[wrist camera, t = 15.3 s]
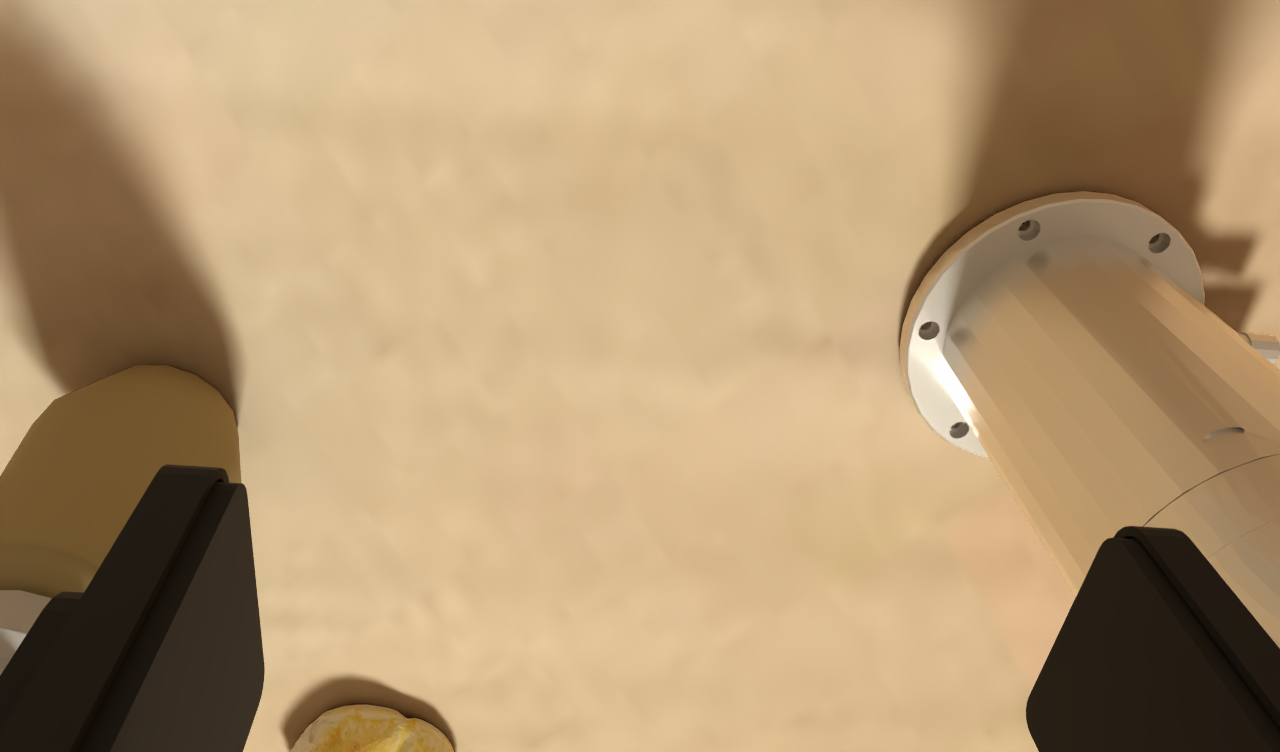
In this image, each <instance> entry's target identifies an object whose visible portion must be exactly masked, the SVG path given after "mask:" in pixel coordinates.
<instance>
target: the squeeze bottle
mask: <svg viewBox="0 0 1280 752" xmlns="http://www.w3.org/2000/svg"><path fill="white" fill-rule="evenodd" d="M166 464H170V465H185V466H201V467H217V468H223V469H225V470H226V472H227V475H228V478H229V483H241V470H240V454H239V438H238V430H237V426H236V421H235V417H234V412H233V410H232V409H231V408H230V406H229V405H228V403H227V402H226V401H225V399H224V398H223V397H222V395H221V394H220V392H219V391H218V390H217V389H215V388H214V387H212V386H211V385H210V384H208V383H207V382H205V381H204V380H202V379H201V378H199V377H198V376H197V375H195V374H193V373H190V372H187V371H183V370H180V369H177V368H174V367H171V366H168V365H136V366H133V367H131V368H128V369H125V370H123V371H120V372H118V373H115V374H113V375H110V376H108V377H106V378H103V379H101V380H99V381H96V382H94V383H92V384H90V385H87V386H85V387H83V388H80V389H78V390H76V391H74V392H71V393H69V394H67V395H64V396H62V397H60V398H58V399H55V400H54V401H53V402H52V403H51V404H50V405H49V406H48V408H47V409H46V410H45V411H44V412H43V413H42V414H41V415H40V417H39V418H38V419H37V420H36V421H35V422H34V423H33V424H32V426H31V428H30V429H29V431H28V432H27V434H26V436H25V437H24V439H23V440H22V442H21V444H20V445H19V447H18V449H17V450H16V452H15V453H14V455H13V457H12V458H11V460H10V461H9V463H8V465H7V466H6V468H5V470H4V471H3V473H2V474H1V476H0V675H1V674H2V672H3V670H4V669H5V667H6V666H7V664H8V663H9V661H10V660H11V658H12V657H13V655H14V653H15V652H16V650H17V649H18V647H19V646H20V644H21V643H22V641H23V639H24V638H25V636H26V635H27V633H28V632H29V630H30V629H31V627H32V625H33V624H34V622H35V621H36V619H37V618H38V616H39V615H40V613H41V612H42V610H43V609H44V608H45V606H46V605H47V604H48V603H49V601H50V600H51V599H52V598H53V597H54V596H56V595H58V594H59V593H61V592H63V591H64V592H85V590H86V588H87V587H88V585H89V584H90V582H91V580H92V579H93V577H94V575H95V574H96V572H97V570H98V569H99V567H100V565H101V564H102V562H103V560H104V559H105V557H106V556H107V554H108V552H109V551H110V549H111V547H112V546H113V544H114V542H115V541H116V539H117V537H118V536H119V534H120V532H121V531H122V529H123V527H124V526H125V524H126V523H127V521H128V519H129V518H130V516H131V514H132V513H133V511H134V509H135V508H136V506H137V504H138V503H139V501H140V499H141V498H142V496H143V495H144V493H145V491H146V490H147V488H148V486H149V485H150V483H151V481H152V480H153V478H154V476H155V475H156V473H157V472H158V471H159V469H160V468H161V467H162V466H164V465H166Z"/></svg>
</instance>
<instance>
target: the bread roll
mask: <svg viewBox="0 0 1280 752" xmlns="http://www.w3.org/2000/svg"><path fill="white" fill-rule="evenodd" d="M290 752H454V750H453V747H452V745H451V743H450V742H449V740H448V739H447V738H446V736H445V735H444V734H443V733H442V732H441V731H440V730H438V729H437V728H436V727H434V726H433V725H431V724H429V723H427V722H425V721H423V720H421V719H417V718H410V719H408V718H405V717H404V716H403V715H402V714H400V713H399V712H398V711H396V710H394V709H391V708H387V707H381V706H374V705H366V704H363V705H349V706H342V707H339V708H335V709H332V710H329V711H326V712H324V713H323V714H322V715H321V716H320V717H318V718H317V719H316V720H315V721H314V722H313V723H311V724H310V725H309V726H308V727H307V728H306V729H305V731H304V732H303V733H302V734H301V735H300V738H299V739H298V740H297V741H296V743H295V745H294V746H293V748H292V749H291V750H290Z"/></svg>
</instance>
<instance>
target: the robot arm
mask: <svg viewBox="0 0 1280 752" xmlns="http://www.w3.org/2000/svg"><path fill="white" fill-rule="evenodd" d="M1024 222H1025V223H1024ZM1022 223H1024V225H1022V226H1021V224H1022ZM1204 300H1205V294H1204V286H1203V278H1202V272H1201V269H1200V267H1199V264H1198V262H1197V259H1196V257H1195V254H1194V251H1193V250H1192V248H1191V247H1190V246H1189V244H1188V243H1187V242H1186V240H1185V239H1184V238H1183V236H1182V235H1181V234H1180V232H1179V231H1178V230H1177V229H1175V228H1174V227H1173V226H1172V225H1170V224H1169V223H1168V222H1167V221H1166V220H1164V219H1163V218H1162V217H1161V216H1159V215H1158V214H1156V213H1155V212H1153V211H1151V210H1150V209H1148V208H1146V207H1145V206H1143V205H1141V204H1140V203H1138V202H1135V201H1132V200H1129V199H1126V198H1123V197H1120V196H1117V195H1114V194H1106V193H1097V192H1087V191H1080V192H1068V193H1056V194H1051V195H1047V196H1043V197H1039V198H1036V199H1032V200H1028V201H1024V202H1022V203H1019V204H1017V205H1015V206H1013V207H1010V208H1008V209H1006V210H1004V211H1001V212H999V213H997V214H995V215H993V216H991V217H990V218H988V219H987V220H985V221H984V222H982V223H981V224H979V225H977V226H976V227H974V228H973V229H971V230H970V231H968V232H967V233H966V234H965V235H964V236H962V237H961V238H960V239H959V240H958V241H957V242H956V243H954V244H953V245H952V246H951V247H950V248H949V249H948V250H947V251H945V252H944V254H943V255H942V256H941V257H940V258H939V260H938V261H937V262H936V263H935V265H934V266H933V267H932V268H931V269H930V271H929V272H928V273H927V274H926V276H925V277H924V279H923V281H922V283H921V284H920V286H919V288H918V290H917V291H916V293H915V295H914V297H913V298H912V300H911V303H910V306H909V309H908V311H907V314H906V317H905V320H904V323H903V327H902V334H901V341H900V349H899V352H900V364H901V374H902V377H903V380H904V383H905V386H906V389H907V392H908V395H909V397H910V398H911V400H912V402H913V404H914V405H915V407H916V409H917V411H918V413H919V415H920V416H921V417H922V418H923V419H924V421H925V422H926V423H927V424H928V426H929V427H930V428H931V429H932V431H934V432H935V433H936V434H937V435H938V436H940V437H941V438H942V439H943V440H945V441H946V442H947V443H949V444H951V445H953V446H955V447H957V448H959V449H961V450H963V451H966V452H968V453H970V454H973V455H977V456H981V457H985V458H989V459H990V460H991V462H992V463H993V465H994V467H995V468H996V470H997V471H998V473H999V475H1000V476H1001V478H1002V480H1003V481H1004V483H1005V484H1006V486H1007V488H1008V489H1009V491H1010V493H1011V494H1012V496H1013V497H1014V499H1015V501H1016V502H1017V504H1018V506H1019V507H1020V509H1021V510H1022V512H1023V514H1024V515H1025V517H1026V519H1027V520H1028V522H1029V523H1030V525H1031V527H1032V528H1033V530H1034V532H1035V533H1036V535H1037V536H1038V538H1039V540H1040V541H1041V543H1042V545H1043V546H1044V548H1045V549H1046V551H1047V553H1048V554H1049V556H1050V558H1051V559H1052V561H1053V562H1054V564H1055V566H1056V567H1057V569H1058V571H1059V572H1060V574H1061V575H1062V577H1063V579H1064V580H1065V582H1066V584H1067V585H1068V587H1069V588H1070V590H1071V592H1072V593H1073V595H1074V597H1075V600H1074V603H1073V605H1072V607H1071V609H1070V611H1069V613H1068V615H1067V617H1066V619H1065V622H1064V624H1063V626H1062V628H1061V630H1060V632H1059V634H1058V636H1057V638H1056V641H1055V643H1054V645H1053V647H1052V649H1051V651H1050V653H1049V655H1048V658H1047V660H1046V662H1045V664H1044V666H1043V668H1042V670H1041V672H1040V674H1039V677H1038V679H1037V681H1036V683H1035V685H1034V687H1033V689H1032V691H1031V694H1030V696H1029V698H1028V701H1027V707H1026V719H1027V724H1028V728H1029V731H1030V734H1031V736H1032V738H1033V740H1034V742H1035V744H1036V746H1037V748H1038V751H1039V752H1280V370H1279V369H1278V368H1277V367H1276V366H1275V365H1273V364H1274V363H1275V362H1276V361H1277V360H1278V357H1279V353H1280V345H1279V341H1278V340H1277V338H1276V337H1275V336H1273V335H1270V334H1260V333H1249V332H1239V333H1237V332H1236V331H1235V330H1233V329H1232V328H1231V327H1230V326H1229V325H1227V324H1226V323H1225V322H1224V321H1223V320H1221V319H1220V318H1219V317H1218V316H1217V315H1215V314H1214V313H1213V312H1212V311H1210V310H1209V309H1208V308H1207V307H1206V306H1204ZM926 322H927V323H926ZM924 323H925V324H924ZM923 324H924V325H923ZM263 682H264V658H263V648H262V638H261V628H260V618H259V608H258V598H257V588H256V578H255V568H254V558H253V548H252V538H251V528H250V518H249V508H248V498H247V491H246V488H245V485H244V484H242V483H229V478H228V475H227V472H226V470H225V469H223V468H217V467H201V466H185V465H170V464H166V465H164V466H162V467H161V468H160V469H159V471H158V472H157V473H156V475H155V476H154V478H153V480H152V481H151V483H150V485H149V486H148V488H147V490H146V491H145V493H144V495H143V496H142V498H141V499H140V501H139V503H138V504H137V506H136V508H135V509H134V511H133V513H132V514H131V516H130V518H129V519H128V521H127V523H126V524H125V526H124V527H123V529H122V531H121V532H120V534H119V536H118V537H117V539H116V541H115V542H114V544H113V546H112V547H111V549H110V551H109V552H108V554H107V556H106V557H105V559H104V560H103V562H102V564H101V565H100V567H99V569H98V570H97V572H96V574H95V575H94V577H93V579H92V580H91V582H90V584H89V585H88V587H87V588H86V590H85V592H64V591H63V592H61V593H59V594H58V595H56V596H54V597H53V598H52V599H51V600H50V601H49V603H48V604H47V605H46V606H45V608H44V609H43V610H42V612H41V613H40V615H39V616H38V618H37V619H36V621H35V622H34V624H33V625H32V627H31V629H30V630H29V632H28V633H27V635H26V636H25V638H24V639H23V641H22V643H21V644H20V646H19V647H18V649H17V650H16V652H15V653H14V655H13V657H12V658H11V660H10V661H9V663H8V664H7V666H6V667H5V669H4V670H3V672H2V674H1V675H0V752H243V749H244V746H245V743H246V740H247V738H248V735H249V732H250V729H251V726H252V723H253V720H254V717H255V714H256V711H257V708H258V705H259V702H260V699H261V694H262V689H263Z"/></svg>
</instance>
